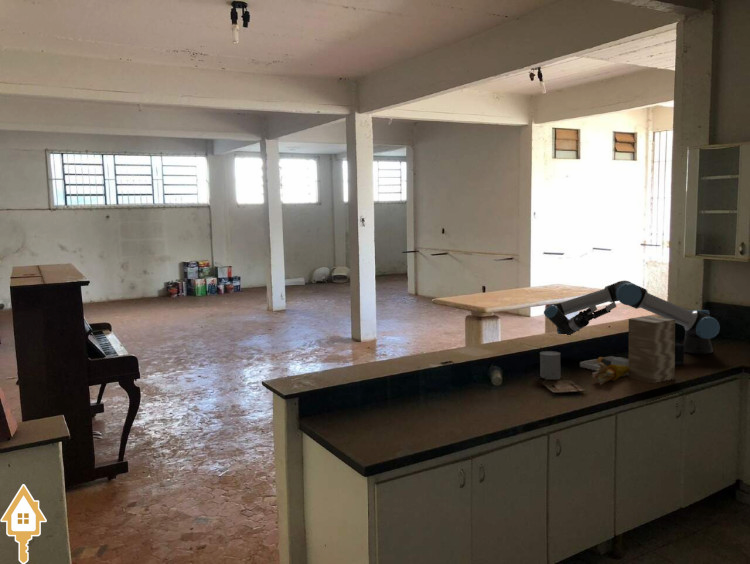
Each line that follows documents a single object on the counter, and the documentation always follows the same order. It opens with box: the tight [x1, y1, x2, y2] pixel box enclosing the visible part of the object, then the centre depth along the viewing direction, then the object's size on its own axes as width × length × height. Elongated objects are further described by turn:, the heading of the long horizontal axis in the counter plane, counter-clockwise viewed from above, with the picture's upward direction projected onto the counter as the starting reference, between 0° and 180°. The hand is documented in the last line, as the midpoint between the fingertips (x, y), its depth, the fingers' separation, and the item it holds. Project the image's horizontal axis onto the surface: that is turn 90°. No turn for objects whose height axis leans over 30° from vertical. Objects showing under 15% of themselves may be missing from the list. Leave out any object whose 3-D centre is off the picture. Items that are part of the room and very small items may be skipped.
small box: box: [675, 341, 685, 366], centre depth 308 cm, size 11×6×10 cm, turn 179°
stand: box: [628, 315, 676, 384], centre depth 282 cm, size 14×14×28 cm
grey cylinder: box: [539, 350, 562, 380], centre depth 289 cm, size 10×10×12 cm
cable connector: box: [597, 356, 629, 367], centre depth 303 cm, size 6×18×5 cm, turn 26°
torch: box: [591, 362, 629, 385], centre depth 281 cm, size 8×8×25 cm
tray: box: [579, 355, 629, 378], centre depth 302 cm, size 22×25×2 cm
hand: (605, 305), depth 307 cm, fingers open, 13 cm apart
